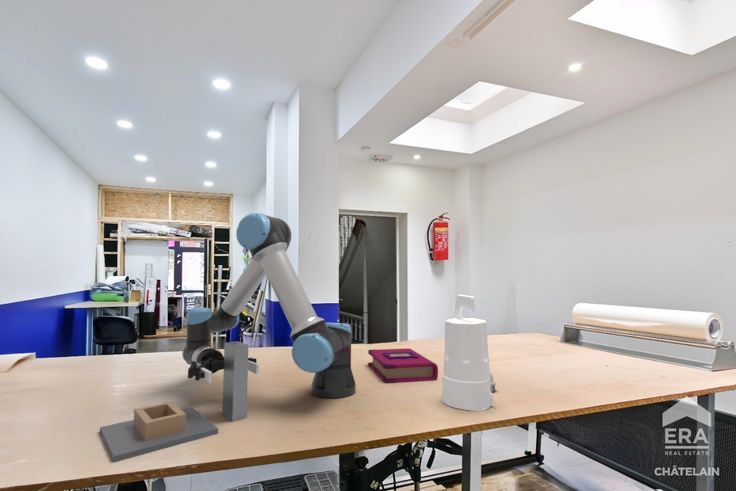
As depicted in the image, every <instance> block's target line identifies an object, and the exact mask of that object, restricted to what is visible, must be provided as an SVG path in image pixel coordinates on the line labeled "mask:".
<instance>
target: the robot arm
mask: <svg viewBox="0 0 736 491" xmlns="http://www.w3.org/2000/svg"><path fill="white" fill-rule="evenodd" d="M236 240H237V242H238V244H239V245H240V246H241V247H242V248H244V249H246V250H248V251H249V253H250V255H251V257H252V258H251V260H250V261H249V263H248V264H247V266H246V268H245V269H244V270H243V272H242V273H241V275H240V276H239V277H238V278H237V281H236V282H235V283H234V285H233V286H232V288H231V290H230V291H229V293H228V294H227V296H226V297H225V299H224V300H223V302H222V303H221V305H219V307H218V309H217V310H216V311H212V309H211V308H209V307H193V308H190V309H188V311H187V318H186V340H185V346H184V347H183V349H182V352H181V356H182V358H183V360H184V362H186V364H188V365H189V366H188V367H189V368H187V371H188V372H187V378H188V379H192V378H193V377H195V379H194V380H195V381H200V379H202V380H203V381H205V382H207V383H208V384H210V383H211V384H212V381H213V379H212V378H213V374H215V373H217V372H218V371H221V370H224V354H223V353H222V352H221V351H220V350H218V349H216V348H213V347H211V334H215V333H220V332H224V331H225V332H226V331H230V330H231V329H235V328H236V327H237V326H238V324H239V321H240V314H241V312H242V311H243V310H244V309H245V307H246V305H247V304H248V302H249V300H251V298H252V296H253V295H254V294H255V292H256V291H257V289H258V288H259V286H260V285H261V283H262V282H263V281H264V279H265V278H266V277H267V279H268V281H269V283H270V286H271V289H273V292H274V294H275V296H276V299H277V300H278V302H279V304H280V307H281V309H282V311H283V313H284V315H285V317H286V319H287V322H288V324H289V325H290V328H291V332H290V335H289V337H290V340H291V342H292V349H291V356H292V360H293V362H294V364H295V365H296V366H297V368H298V369H300V370H302V371H304V372H306V373H310V374H311V373H313V374H314V375H313V379H312V380H311V384H310V386H311V387H310V393H311V394H312V395H313V396H314V397H319V398H326V399H340V398H347V397H349V396H352V395H354V394H355V393H357V392H356V391H357V388H356V387H357V386H356V381H355V378H354V374H353V370H352V336H353V334H352V333H353V332H352V326H351V324H349V323H344V322H343V323H341V322H326V320H325V319H324V318H322V317H319V316H317V313H316V311H315V310H314V307H313V306H312V304H311V301H310V299H309V297H308V295H307V293H306V292H305V289H304V286H303V285H302V283H301V281H300V279H299V277H298V275H297V273H296V271H295V269H294V266H293V265H292V262H291V260H290V259H289V258H290V257H288V255H287V253H286V252H287V250H288V249H289V247H290V245H291V242H292V231H291V228H290V226H289V224H288V223H287V222H286V221H285V220H283V219H281V218H279V217H274V216H271V215H270V216H269V215H266V214H264V213H256V212H253V213H250V214H246V215H245V216H243V218H242V219H240V221H239V223H238V224H237V228H236ZM257 361H258V360H257V358H253V357H248V372H250V373H253V374H254V375H259V374H260V364H259V363H258V362H257Z"/></svg>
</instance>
